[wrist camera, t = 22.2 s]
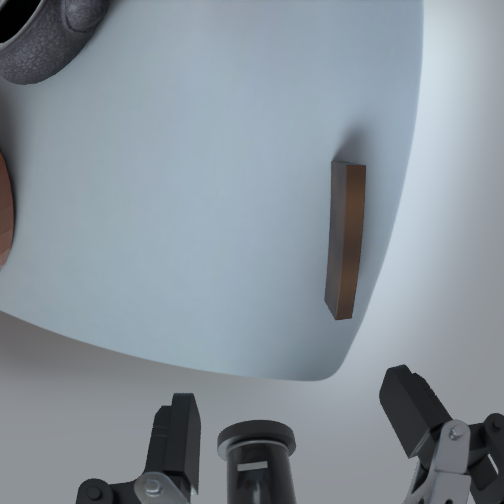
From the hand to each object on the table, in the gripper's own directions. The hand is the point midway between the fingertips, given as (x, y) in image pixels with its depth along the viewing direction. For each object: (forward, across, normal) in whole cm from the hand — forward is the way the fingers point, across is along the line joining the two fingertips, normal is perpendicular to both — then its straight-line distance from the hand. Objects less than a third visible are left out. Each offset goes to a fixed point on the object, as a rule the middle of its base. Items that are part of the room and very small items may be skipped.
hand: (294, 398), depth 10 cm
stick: (+16, -7, -2) cm, 17 cm away
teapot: (+16, +16, -28) cm, 36 cm away
